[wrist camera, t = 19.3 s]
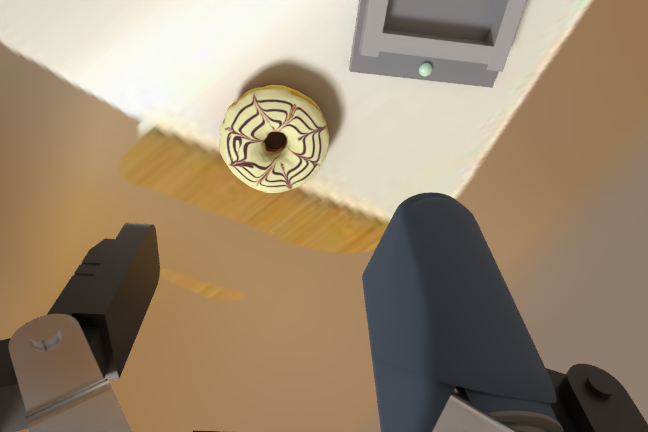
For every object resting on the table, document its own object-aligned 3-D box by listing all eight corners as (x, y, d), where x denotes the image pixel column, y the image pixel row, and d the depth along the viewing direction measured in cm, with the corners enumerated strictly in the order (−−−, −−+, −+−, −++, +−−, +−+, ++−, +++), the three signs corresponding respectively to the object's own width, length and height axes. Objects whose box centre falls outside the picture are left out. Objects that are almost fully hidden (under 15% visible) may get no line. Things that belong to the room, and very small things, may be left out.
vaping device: (350, 288, 16) (402, 854, 7) (408, 176, 13) (644, 923, 4) (413, 301, 17) (540, 843, 7) (482, 195, 14) (849, 894, 4)
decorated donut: (208, 158, 45) (202, 173, 42) (245, 62, 41) (241, 71, 38) (299, 194, 48) (300, 211, 45) (344, 108, 44) (347, 120, 40)
